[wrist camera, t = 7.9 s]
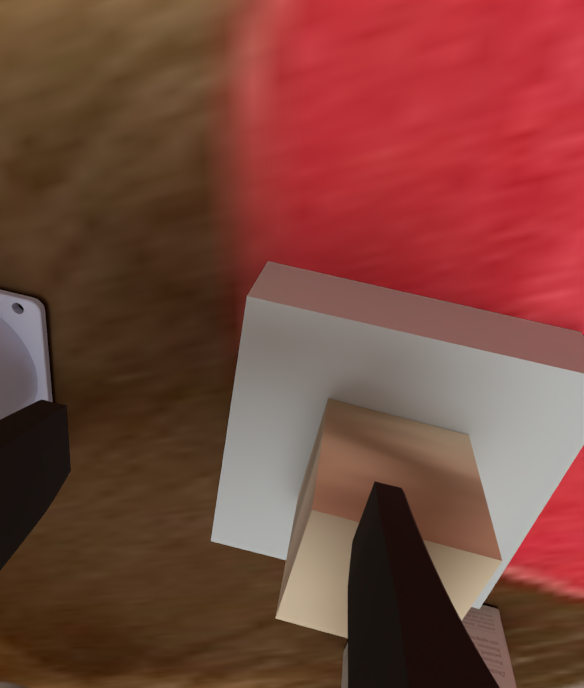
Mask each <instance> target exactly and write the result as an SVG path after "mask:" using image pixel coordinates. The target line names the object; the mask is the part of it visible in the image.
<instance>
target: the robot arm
mask: <svg viewBox="0 0 584 688" xmlns="http://www.w3.org/2000/svg"><path fill="white" fill-rule="evenodd" d="M18 303H19V304H20V305H21V306H22V307H23V309H24V310H23V309H21V308H20V307H19V305H18ZM70 471H71V468H70V452H69V437H68V421H67V406H66V405H62V404H58V403H54V402H53V401H52V388H51V376H50V364H49V352H48V340H47V327H46V315H45V308H44V306H43V304H42V303H41V302H40V301H39V300H38V299H36V298H33V297H29V296H25V295H21V294H17V293H12V292H8V291H4V290H0V570H1V569H2V568H3V566H4V565H5V564H6V562H7V561H8V560H9V559H10V557H11V556H12V555H13V554H14V552H15V551H16V550H17V548H18V547H19V546H20V545H21V543H22V542H23V541H24V539H25V538H26V537H27V536H28V534H29V533H30V532H31V530H32V529H33V528H34V527H35V525H36V524H37V523H38V521H39V520H40V519H41V517H42V516H43V515H44V513H45V512H46V511H47V509H48V508H49V506H50V505H51V503H52V501H53V500H54V498H55V496H56V495H57V493H58V492H59V490H60V488H61V486H62V485H63V483H64V481H65V480H66V478H67V476H68V474H69V473H70ZM348 688H500V687H499V685H498V684H497V682H496V680H495V679H494V677H493V675H492V674H491V672H490V670H489V669H488V667H487V665H486V664H485V662H484V661H483V659H482V657H481V655H480V654H479V652H478V650H477V648H476V647H475V645H474V643H473V641H472V639H471V638H470V636H469V634H468V632H467V630H466V629H465V627H464V625H463V623H462V621H461V619H460V617H459V615H458V613H457V611H456V609H455V608H454V606H453V604H452V602H451V600H450V598H449V596H448V594H447V592H446V590H445V588H444V585H443V583H442V581H441V579H440V577H439V575H438V572H437V570H436V568H435V566H434V564H433V562H432V560H431V557H430V555H429V553H428V550H427V548H426V546H425V544H424V541H423V539H422V536H421V534H420V532H419V529H418V527H417V524H416V522H415V519H414V517H413V514H412V511H411V509H410V506H409V503H408V501H407V498H406V495H405V493H404V491H403V489H402V488H400V487H396V486H392V485H388V484H384V483H380V482H376V481H374V484H373V487H372V490H371V492H370V495H369V498H368V500H367V503H366V506H365V508H364V511H363V514H362V517H361V519H360V522H359V525H358V527H357V530H356V533H355V535H354V538H353V541H352V549H351V558H350V567H349V578H348Z"/></svg>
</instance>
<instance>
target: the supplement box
mask: <svg viewBox="0 0 584 688" xmlns="http://www.w3.org/2000/svg"><path fill="white" fill-rule="evenodd" d="M462 623H463V625H464V627H465V629H466V630H467V632H468V634H469V636H470V638H471V639H472V641H473V643H474V645H475V647H476V648H477V650H478V652H479V654H480V655H481V657H482V659H483V661H484V662H485V664H486V665H487V667H488V669H489V670H490V672H491V674H492V675H493V677H494V679H495V680H496V682H497V684H498V685H499V687H500V688H516V683H515V678H514V674H513V670H512V666H511V661H510V656H509V652H508V648H507V644H506V640H505V636H504V631H503V627H502V623H501V618H500V613H499V610H498V609H497V608H493V607H489V606H486V605H482V606H481V608H480V609H477V608H473V607H471V608H470V609H469V611H468V612H467V614H466V615H465V616H464V618H463V619H462ZM341 688H348V643H347V645H346V647H345V650H344V653H343V670H342V685H341Z"/></svg>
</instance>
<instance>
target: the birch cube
mask: <svg viewBox="0 0 584 688" xmlns="http://www.w3.org/2000/svg"><path fill="white" fill-rule="evenodd" d="M374 481H376V482H380V483H384V484H388V485H392V486H396V487H400V488H402V489H403V491H404V493H405V495H406V498H407V501H408V503H409V506H410V509H411V511H412V514H413V517H414V519H415V522H416V524H417V527H418V529H419V532H420V534H421V536H422V539H423V541H424V544H425V546H426V548H427V550H428V553H429V555H430V557H431V560H432V562H433V564H434V566H435V568H436V570H437V572H438V575H439V577H440V579H441V581H442V583H443V585H444V588H445V590H446V592H447V594H448V596H449V598H450V600H451V602H452V604H453V606H454V608H455V609H456V611H457V613H458V615H459V617H460V619H461V621H462V619H463V618H464V616H465V615H466V614H467V612H468V611H469V609H470V608H471V606H472V605H473V603H474V602H475V600H476V599H477V597H478V596H479V595H480V593H481V592H482V590H483V589H484V587H485V586H486V584H487V583H488V581H489V580H490V578H491V577H492V576H493V574H494V573H495V571H496V570H497V568H498V567H499V565H500V564H501V562H502V558H501V554H500V550H499V546H498V543H497V539H496V535H495V531H494V528H493V524H492V520H491V516H490V513H489V509H488V505H487V501H486V498H485V494H484V490H483V486H482V483H481V479H480V475H479V471H478V468H477V464H476V460H475V456H474V453H473V449H472V445H471V441H470V437H469V435H466V434H462V433H459V432H455V431H451V430H447V429H443V428H440V427H436V426H432V425H428V424H424V423H421V422H417V421H413V420H409V419H405V418H402V417H398V416H394V415H390V414H386V413H383V412H379V411H375V410H371V409H367V408H363V407H360V406H356V405H352V404H348V403H344V402H341V401H337V400H333V399H329V398H328V400H327V404H326V407H325V410H324V413H323V417H322V420H321V423H320V426H319V430H318V433H317V436H316V439H315V443H314V446H313V449H312V452H311V456H310V459H309V462H308V465H307V469H306V472H305V475H304V478H303V482H302V485H301V488H300V491H299V495H298V499H297V504H296V510H295V515H294V520H293V526H292V531H291V537H290V542H289V548H288V553H287V559H286V564H285V569H284V575H283V580H282V586H281V591H280V597H279V602H278V607H277V613H276V619H280V620H283V621H287V622H291V623H294V624H298V625H301V626H305V627H309V628H312V629H316V630H320V631H323V632H327V633H330V634H334V635H338V636H341V637H345V638H348V578H349V567H350V558H351V549H352V541H353V538H354V535H355V533H356V530H357V527H358V525H359V522H360V519H361V517H362V514H363V511H364V508H365V506H366V503H367V500H368V498H369V495H370V492H371V490H372V487H373V484H374Z"/></svg>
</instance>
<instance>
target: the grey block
mask: <svg viewBox="0 0 584 688" xmlns="http://www.w3.org/2000/svg"><path fill="white" fill-rule="evenodd" d="M328 398H329V399H333V400H337V401H341V402H344V403H348V404H352V405H356V406H360V407H363V408H367V409H371V410H375V411H379V412H383V413H386V414H390V415H394V416H398V417H402V418H405V419H409V420H413V421H417V422H421V423H424V424H428V425H432V426H436V427H440V428H443V429H447V430H451V431H455V432H459V433H462V434H466V435H469V437H470V441H471V445H472V449H473V453H474V456H475V460H476V464H477V468H478V471H479V475H480V479H481V483H482V486H483V490H484V494H485V498H486V501H487V505H488V509H489V513H490V516H491V520H492V524H493V528H494V531H495V535H496V539H497V543H498V546H499V550H500V554H501V558H502V562H501V564H500V565H499V567H498V568H497V570H496V571H495V573H494V574H493V576H492V577H491V578H490V580H489V581H488V583H487V584H486V586H485V587H484V589H483V590H482V592H481V593H480V595H479V596H478V597H477V599H476V600H475V602H474V603H473V605H472V606H471V607H473V608H477V609H480V608H481V606H482V604H483V603H484V601H485V600H486V598H487V596H488V595H489V593H490V592H491V590H492V589H493V587H494V585H495V584H496V582H497V581H498V579H499V578H500V576H501V574H502V573H503V571H504V570H505V568H506V566H507V565H508V563H509V562H510V560H511V559H512V557H513V555H514V554H515V552H516V551H517V549H518V548H519V546H520V544H521V543H522V541H523V540H524V538H525V536H526V535H527V533H528V532H529V530H530V529H531V527H532V525H533V524H534V522H535V521H536V519H537V518H538V516H539V514H540V513H541V511H542V510H543V508H544V506H545V505H546V503H547V502H548V500H549V499H550V497H551V495H552V494H553V492H554V491H555V489H556V488H557V486H558V484H559V483H560V481H561V480H562V478H563V476H564V475H565V473H566V472H567V470H568V469H569V467H570V465H571V464H572V462H573V461H574V459H575V458H576V456H577V454H578V453H579V451H580V450H581V448H582V447H583V445H584V336H583V335H582V333H581V332H579V331H574V330H570V329H566V328H561V327H557V326H552V325H548V324H544V323H539V322H535V321H530V320H526V319H522V318H517V317H513V316H508V315H504V314H500V313H495V312H491V311H486V310H482V309H478V308H473V307H469V306H464V305H460V304H455V303H451V302H447V301H442V300H438V299H433V298H429V297H425V296H420V295H416V294H411V293H407V292H403V291H398V290H394V289H389V288H385V287H381V286H376V285H372V284H367V283H363V282H359V281H354V280H350V279H345V278H341V277H337V276H332V275H328V274H323V273H319V272H314V271H310V270H306V269H301V268H297V267H292V266H288V265H284V264H279V263H275V262H270V261H268V262H267V263H266V265H265V267H264V268H263V270H262V272H261V273H260V275H259V277H258V278H257V280H256V282H255V283H254V285H253V287H252V288H251V290H250V292H249V293H248V295H247V299H246V306H245V312H244V319H243V326H242V333H241V340H240V346H239V353H238V360H237V367H236V374H235V380H234V387H233V394H232V401H231V408H230V414H229V421H228V428H227V435H226V442H225V448H224V455H223V462H222V469H221V476H220V483H219V489H218V496H217V503H216V510H215V517H214V523H213V530H212V537H211V541H212V542H216V543H220V544H224V545H228V546H232V547H236V548H240V549H244V550H248V551H252V552H256V553H260V554H264V555H268V556H272V557H276V558H280V559H284V560H286V559H287V553H288V548H289V542H290V537H291V531H292V526H293V520H294V515H295V510H296V504H297V499H298V495H299V491H300V488H301V485H302V482H303V478H304V475H305V472H306V469H307V465H308V462H309V459H310V456H311V452H312V449H313V446H314V443H315V439H316V436H317V433H318V430H319V426H320V423H321V420H322V417H323V413H324V410H325V407H326V404H327V400H328Z"/></svg>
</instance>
